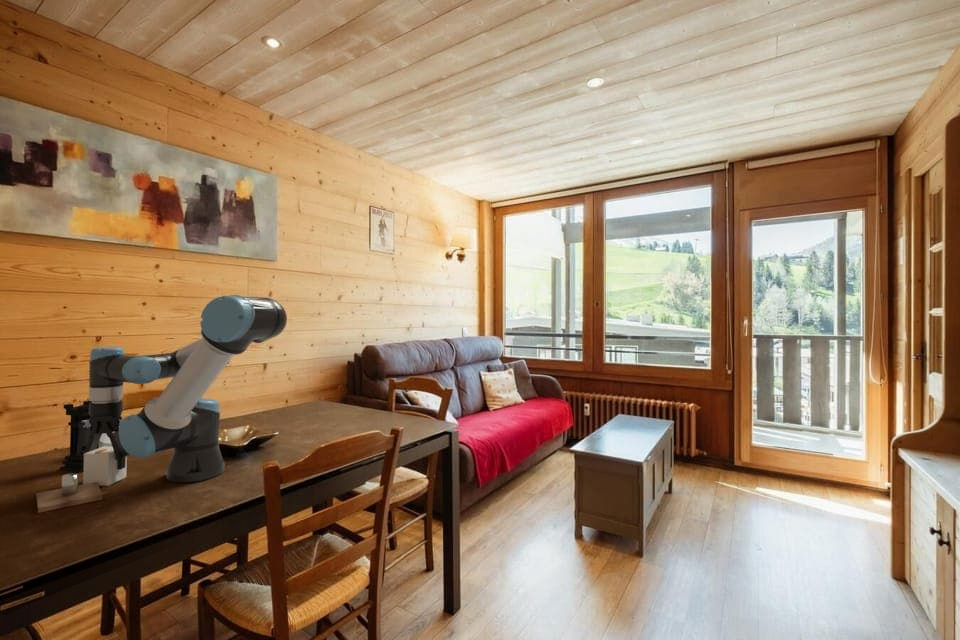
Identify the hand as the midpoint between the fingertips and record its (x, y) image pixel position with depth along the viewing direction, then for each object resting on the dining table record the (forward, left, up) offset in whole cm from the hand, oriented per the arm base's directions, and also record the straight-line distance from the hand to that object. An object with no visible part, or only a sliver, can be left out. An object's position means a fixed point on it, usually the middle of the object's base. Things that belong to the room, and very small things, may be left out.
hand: (104, 479), depth 128 cm
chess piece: (+18, -6, -1) cm, 19 cm away
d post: (-4, +11, +1) cm, 12 cm away
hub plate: (-4, +11, -1) cm, 12 cm away
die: (+27, -15, -1) cm, 31 cm away
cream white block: (0, 0, -1) cm, 1 cm away
